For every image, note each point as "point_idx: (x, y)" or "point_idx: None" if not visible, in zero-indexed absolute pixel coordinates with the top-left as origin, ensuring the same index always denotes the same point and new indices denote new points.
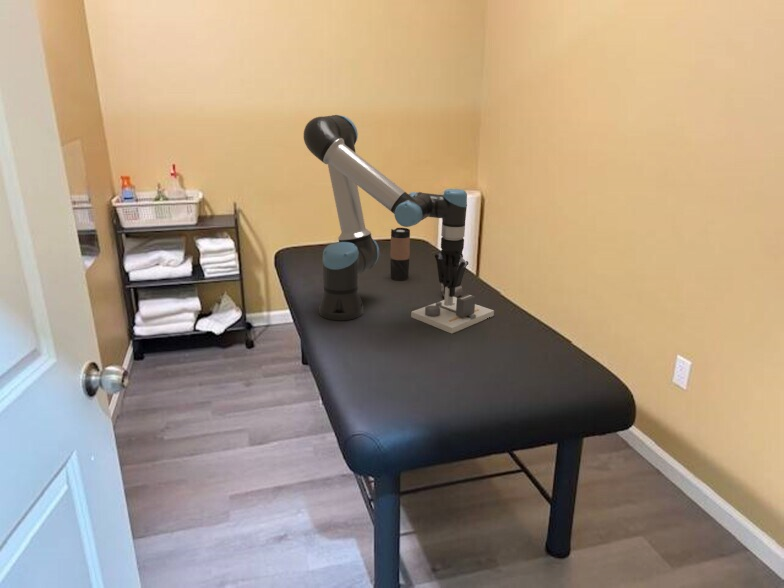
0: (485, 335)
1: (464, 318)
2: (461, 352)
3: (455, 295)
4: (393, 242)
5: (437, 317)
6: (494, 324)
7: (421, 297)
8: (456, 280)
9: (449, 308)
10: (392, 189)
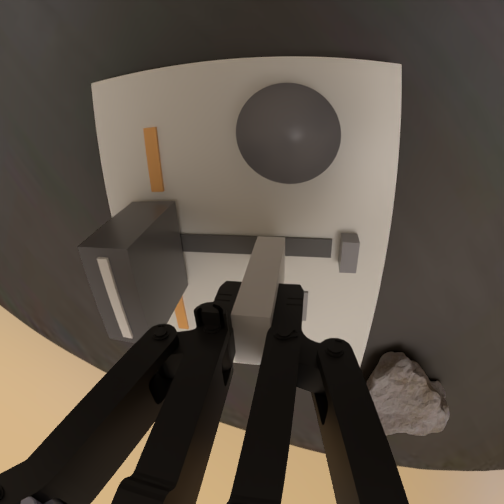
0: (46, 184)
1: None
2: (10, 29)
3: (367, 383)
4: None
5: (228, 109)
6: None
7: (484, 301)
8: (121, 373)
9: None
10: None
